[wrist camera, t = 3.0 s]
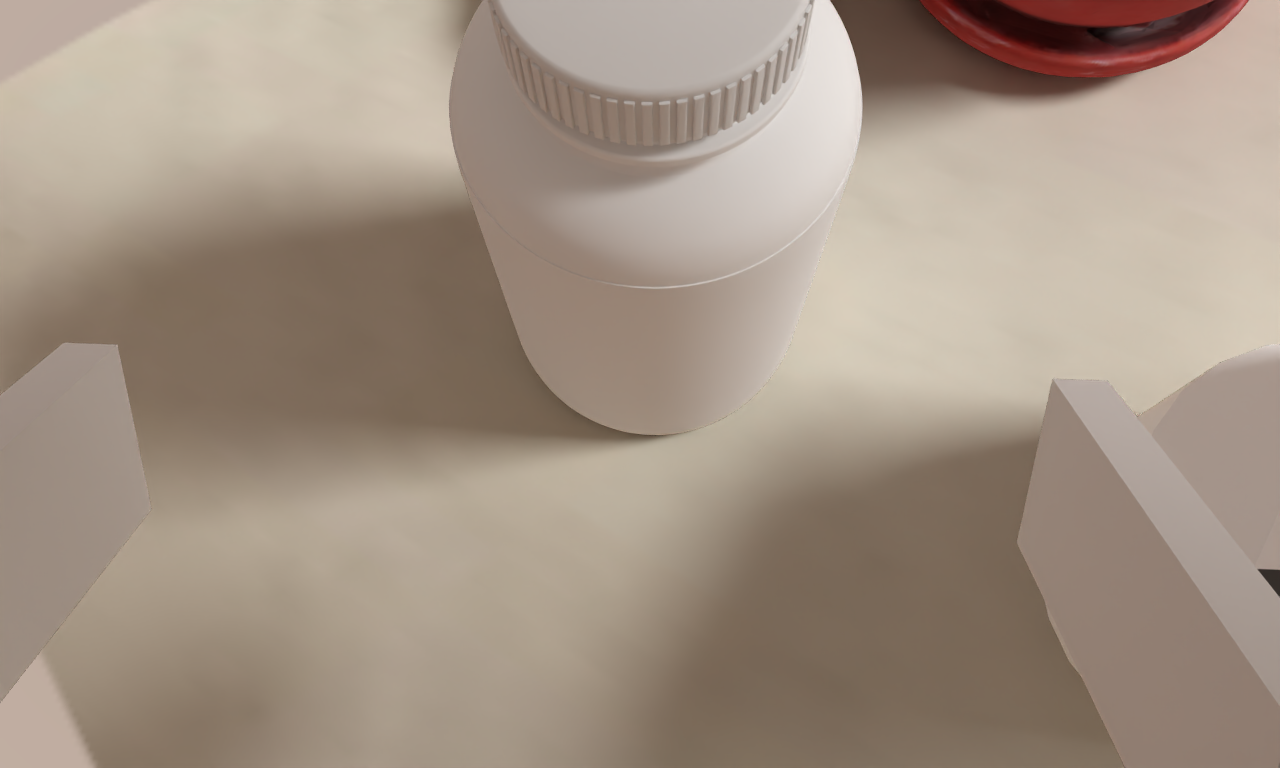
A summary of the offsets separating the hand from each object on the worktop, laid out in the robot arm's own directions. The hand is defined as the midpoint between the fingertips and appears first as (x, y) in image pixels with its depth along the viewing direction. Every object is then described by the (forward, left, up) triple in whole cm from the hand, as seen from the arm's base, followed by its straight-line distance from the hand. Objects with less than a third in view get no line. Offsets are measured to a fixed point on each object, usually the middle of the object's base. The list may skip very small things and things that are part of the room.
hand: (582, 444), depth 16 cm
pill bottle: (-1, -8, -14) cm, 16 cm away
